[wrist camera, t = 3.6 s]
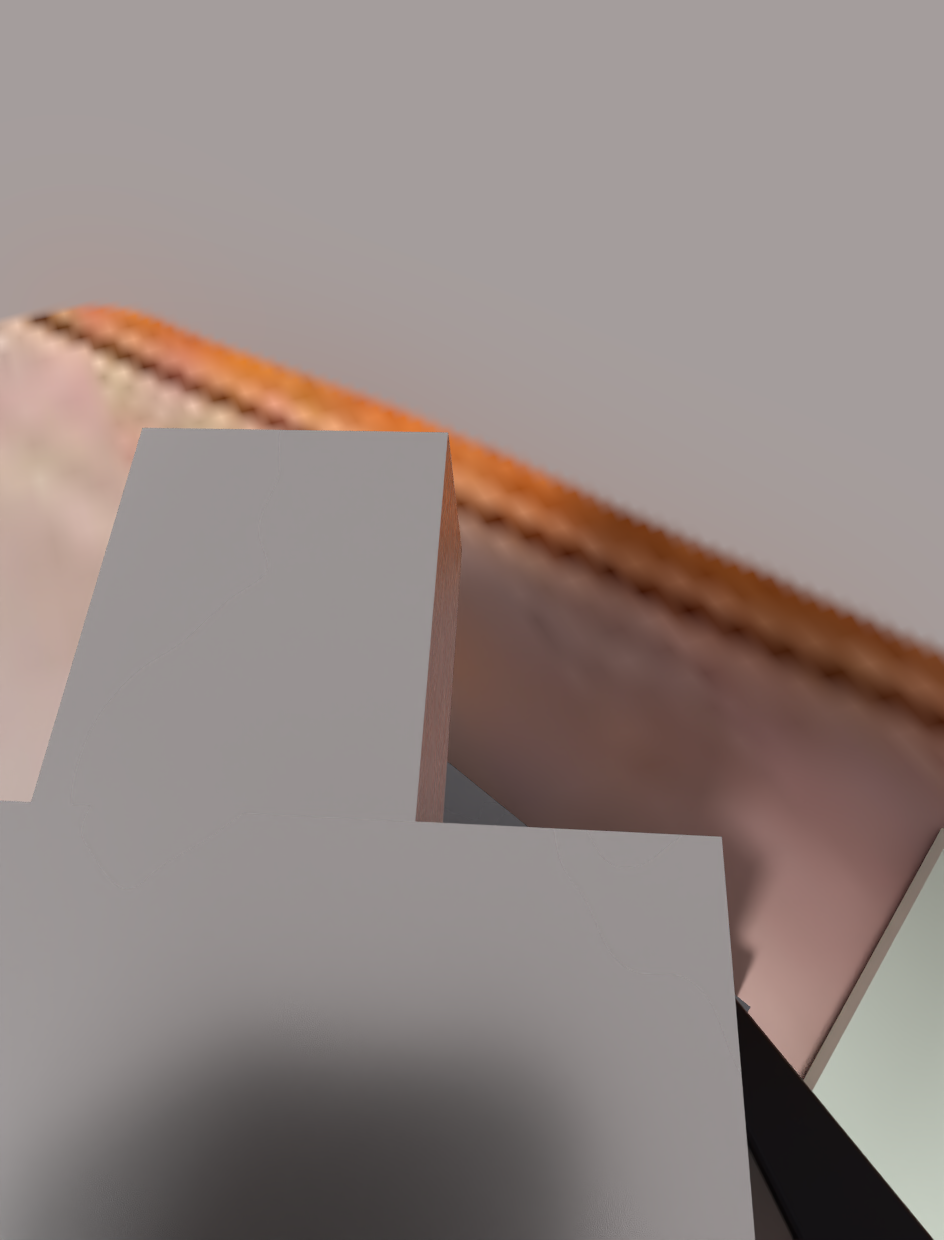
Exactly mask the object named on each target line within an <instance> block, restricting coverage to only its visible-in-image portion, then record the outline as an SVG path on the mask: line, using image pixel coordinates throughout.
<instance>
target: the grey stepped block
mask: <svg viewBox="0 0 944 1240" xmlns="http://www.w3.org/2000/svg"><path fill="white" fill-rule="evenodd" d="M461 553H462V548H461V539H460V530H459V522H458V513H457V505H456V496H455V488H454V479H453V471H452V462H451V454H450V445H449V437H448V433H442V432H377V431H312V430H247V429H181V428H142V431H141V435H140V438H139V441H138V445H137V448H136V452H135V455H134V458H133V462H132V465H131V468H130V472H129V475H128V478H127V482H126V485H125V488H124V492H123V495H122V499H121V502H120V505H119V509H118V512H117V515H116V519H115V522H114V525H113V529H112V532H111V535H110V539H109V542H108V546H107V549H106V552H105V556H104V559H103V562H102V566H101V569H100V572H99V576H98V579H97V583H96V586H95V589H94V593H93V596H92V599H91V603H90V606H89V609H88V613H87V616H86V619H85V623H84V626H83V630H82V633H81V636H80V640H79V643H78V646H77V650H76V653H75V656H74V660H73V663H72V666H71V670H70V673H69V677H68V680H67V683H66V687H65V690H64V693H63V697H62V700H61V703H60V707H59V710H58V713H57V717H56V720H55V724H54V727H53V730H52V734H51V737H50V740H49V744H48V747H47V750H46V754H45V757H44V761H43V764H42V767H41V771H40V774H39V777H38V781H37V784H36V787H35V791H34V794H33V797H32V801H31V802H16V801H0V1240H755V1232H754V1220H753V1208H752V1196H751V1184H750V1171H749V1159H748V1147H747V1135H746V1123H745V1111H744V1099H743V1087H742V1075H741V1063H740V1051H739V1039H738V1027H737V1015H736V1003H735V991H734V979H733V966H732V954H731V942H730V930H729V918H728V906H727V894H726V882H725V870H724V858H723V846H722V837H716V836H696V835H676V834H656V833H636V832H616V831H596V830H576V829H556V828H536V827H516V826H496V825H476V824H456V823H443V814H444V799H445V785H446V770H447V756H448V741H449V727H450V712H451V698H452V683H453V669H454V654H455V640H456V626H457V611H458V597H459V582H460V568H461Z"/></svg>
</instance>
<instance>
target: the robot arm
mask: <svg viewBox="0 0 944 1240" xmlns="http://www.w3.org/2000/svg"><path fill="white" fill-rule="evenodd" d="M735 1003H736V1015H737V1027H738V1039H739V1051H740V1063H741V1075H742V1087H743V1099H744V1111H745V1123H746V1135H747V1147H748V1159H749V1171H750V1184H751V1196H752V1208H753V1220H754V1232H755V1240H934V1239H933V1238H932V1237H931V1235H930V1234H929V1233H928V1232H927V1231H926V1229H925V1228H924V1227H923V1226H922V1224H921V1223H920V1222H919V1221H918V1220H917V1218H916V1217H915V1216H914V1215H913V1213H912V1212H911V1211H910V1210H909V1209H908V1207H907V1206H906V1205H905V1204H904V1203H903V1201H902V1200H901V1199H900V1198H899V1196H898V1195H897V1194H896V1193H895V1192H894V1190H893V1189H892V1188H891V1187H890V1185H889V1184H888V1183H887V1182H886V1181H885V1179H884V1178H883V1177H882V1176H881V1174H880V1173H879V1172H878V1171H877V1170H876V1168H875V1167H874V1166H873V1165H872V1164H871V1162H870V1161H869V1160H868V1159H867V1157H866V1156H865V1155H864V1154H863V1153H862V1151H861V1150H860V1149H859V1148H858V1146H857V1145H856V1144H855V1143H854V1142H853V1140H852V1139H851V1138H850V1137H849V1136H848V1134H847V1133H846V1132H845V1131H844V1129H843V1128H842V1127H841V1126H840V1125H839V1123H838V1122H837V1121H836V1120H835V1118H834V1117H833V1116H832V1115H831V1114H830V1112H829V1111H828V1110H827V1109H826V1107H825V1106H824V1105H823V1104H822V1103H821V1101H820V1100H819V1099H818V1098H817V1097H816V1095H815V1094H814V1093H813V1092H812V1090H811V1089H810V1088H809V1087H808V1086H807V1084H806V1083H805V1082H804V1081H803V1079H802V1078H801V1077H800V1076H799V1075H798V1073H797V1072H796V1071H795V1070H794V1069H793V1067H792V1066H791V1065H790V1064H789V1062H788V1061H787V1060H786V1059H785V1058H784V1056H783V1055H782V1054H781V1053H780V1051H779V1050H778V1049H777V1048H776V1047H775V1045H774V1044H773V1043H772V1042H771V1041H770V1039H769V1038H768V1037H767V1036H766V1034H765V1033H764V1032H763V1031H762V1030H761V1028H760V1027H759V1026H758V1025H757V1023H756V1022H755V1021H754V1020H753V1019H752V1017H751V1016H750V1015H749V1014H748V1012H747V1011H746V1010H745V1009H744V1008H743V1006H742V1005H741V1004H740V1003H739V1002H738V1000H737V999H736V998H735Z"/></svg>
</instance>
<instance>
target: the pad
mask: <svg viewBox="0 0 944 1240" xmlns="http://www.w3.org/2000/svg"><path fill="white" fill-rule="evenodd" d="M803 1081H804V1082H805V1083H806V1084H807V1086H808V1087H809V1088H810V1089H811V1090H812V1092H813V1093H814V1094H815V1095H816V1097H817V1098H818V1099H819V1100H820V1101H821V1103H822V1104H823V1105H824V1106H825V1107H826V1109H827V1110H828V1111H829V1112H830V1114H831V1115H832V1116H833V1117H834V1118H835V1120H836V1121H837V1122H838V1123H839V1125H840V1126H841V1127H842V1128H843V1129H844V1131H845V1132H846V1133H847V1134H848V1136H849V1137H850V1138H851V1139H852V1140H853V1142H854V1143H855V1144H856V1145H857V1146H858V1148H859V1149H860V1150H861V1151H862V1153H863V1154H864V1155H865V1156H866V1157H867V1159H868V1160H869V1161H870V1162H871V1164H872V1165H873V1166H874V1167H875V1168H876V1170H877V1171H878V1172H879V1173H880V1174H881V1176H882V1177H883V1178H884V1179H885V1181H886V1182H887V1183H888V1184H889V1185H890V1187H891V1188H892V1189H893V1190H894V1192H895V1193H896V1194H897V1195H898V1196H899V1198H900V1199H901V1200H902V1201H903V1203H904V1204H905V1205H906V1206H907V1207H908V1209H909V1210H910V1211H911V1212H912V1213H913V1215H914V1216H915V1217H916V1218H917V1220H918V1221H919V1222H920V1223H921V1224H922V1226H923V1227H924V1228H925V1229H926V1231H927V1232H928V1233H929V1234H930V1235H931V1237H932V1238H933V1239H934V1240H944V828H941V830H940V832H939V834H938V835H937V837H936V839H935V841H934V843H933V845H932V846H931V848H930V850H929V852H928V854H927V855H926V857H925V859H924V861H923V863H922V865H921V866H920V868H919V870H918V872H917V874H916V876H915V877H914V879H913V881H912V883H911V885H910V887H909V888H908V890H907V892H906V894H905V896H904V897H903V899H902V901H901V903H900V905H899V907H898V908H897V910H896V912H895V914H894V916H893V918H892V919H891V921H890V923H889V925H888V927H887V928H886V930H885V932H884V934H883V936H882V938H881V939H880V941H879V943H878V945H877V947H876V949H875V950H874V952H873V954H872V956H871V958H870V959H869V961H868V963H867V965H866V967H865V969H864V970H863V972H862V974H861V976H860V978H859V980H858V981H857V983H856V985H855V987H854V989H853V990H852V992H851V994H850V996H849V998H848V1000H847V1001H846V1003H845V1005H844V1007H843V1009H842V1011H841V1012H840V1014H839V1016H838V1018H837V1020H836V1021H835V1023H834V1025H833V1027H832V1029H831V1031H830V1032H829V1034H828V1036H827V1038H826V1040H825V1042H824V1043H823V1045H822V1047H821V1049H820V1051H819V1052H818V1054H817V1056H816V1058H815V1060H814V1062H813V1063H812V1065H811V1067H810V1069H809V1071H808V1073H807V1074H806V1076H805V1078H804V1080H803Z"/></svg>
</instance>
